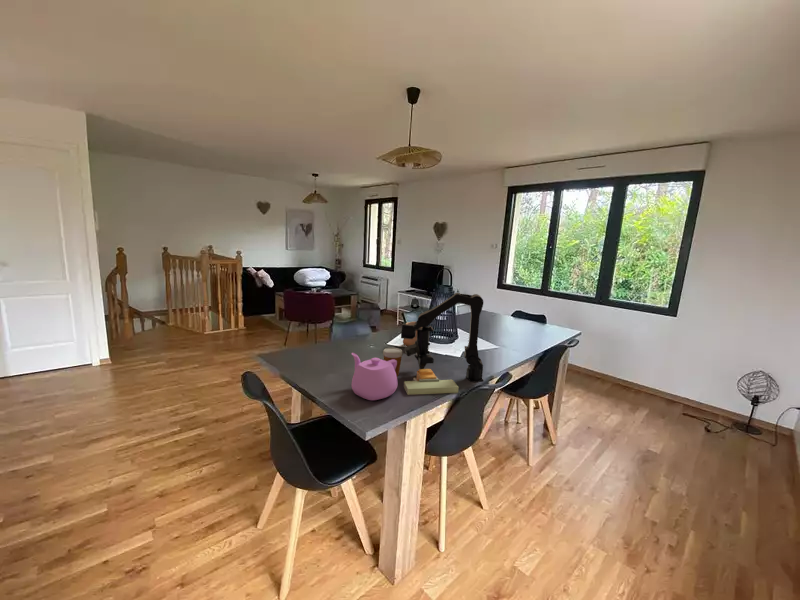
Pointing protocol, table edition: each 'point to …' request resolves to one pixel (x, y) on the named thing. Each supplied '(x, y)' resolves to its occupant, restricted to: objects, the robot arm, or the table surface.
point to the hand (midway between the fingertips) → (421, 371)
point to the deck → (430, 386)
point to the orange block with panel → (425, 374)
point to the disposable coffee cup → (393, 357)
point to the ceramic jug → (410, 341)
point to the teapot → (374, 378)
